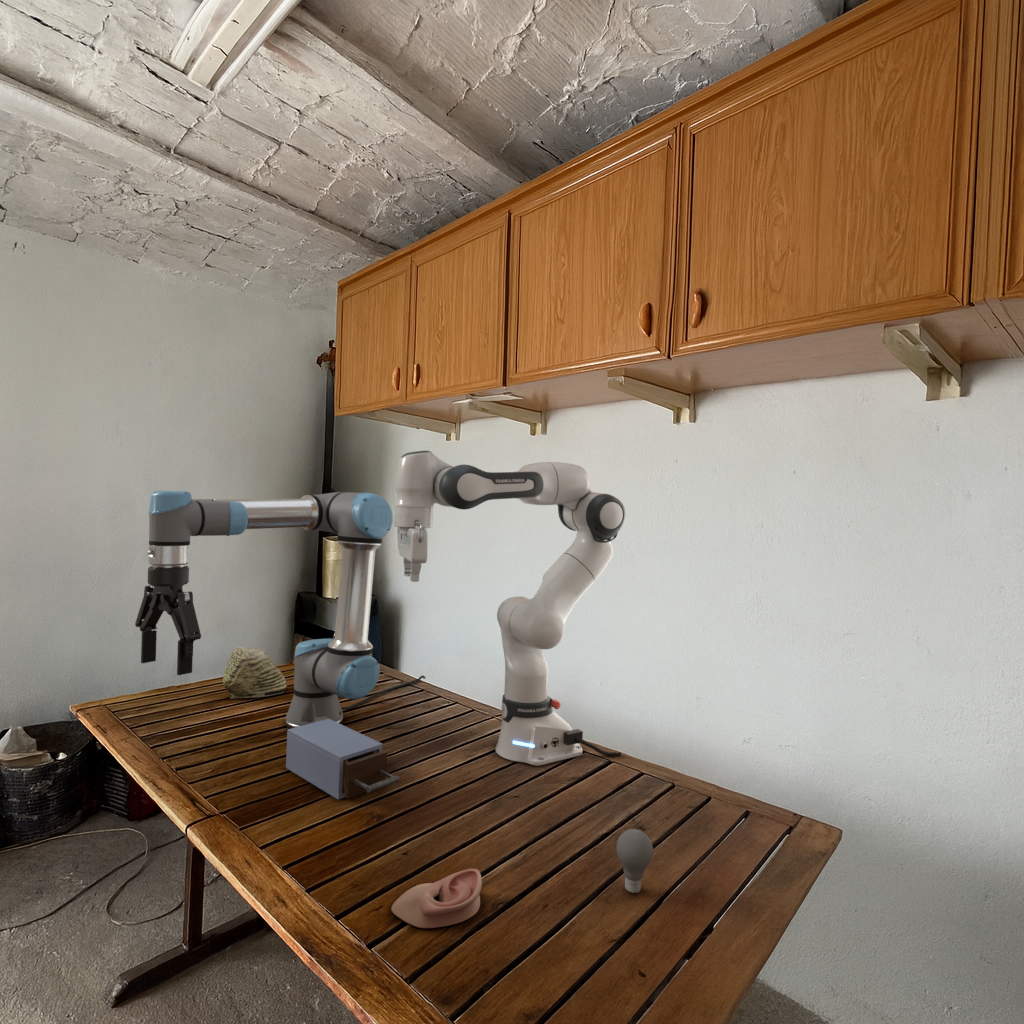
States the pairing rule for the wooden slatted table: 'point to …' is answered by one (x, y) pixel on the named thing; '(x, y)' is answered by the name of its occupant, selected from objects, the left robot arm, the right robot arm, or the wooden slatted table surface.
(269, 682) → the fossil
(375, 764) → the drawer
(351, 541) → the left robot arm
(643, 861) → the light bulb
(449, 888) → the anatomical model
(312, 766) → the cabinet
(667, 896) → the wooden slatted table surface
